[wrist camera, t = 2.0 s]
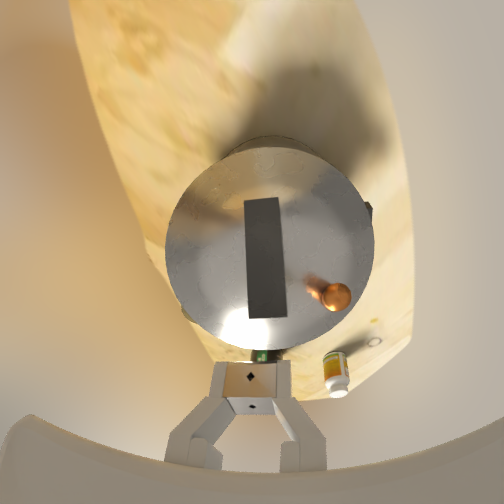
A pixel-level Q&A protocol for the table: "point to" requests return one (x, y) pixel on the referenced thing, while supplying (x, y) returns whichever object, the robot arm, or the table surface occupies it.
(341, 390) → the supplement bottle
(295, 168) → the cooker lid
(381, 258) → the table surface
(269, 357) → the supplement bottle
